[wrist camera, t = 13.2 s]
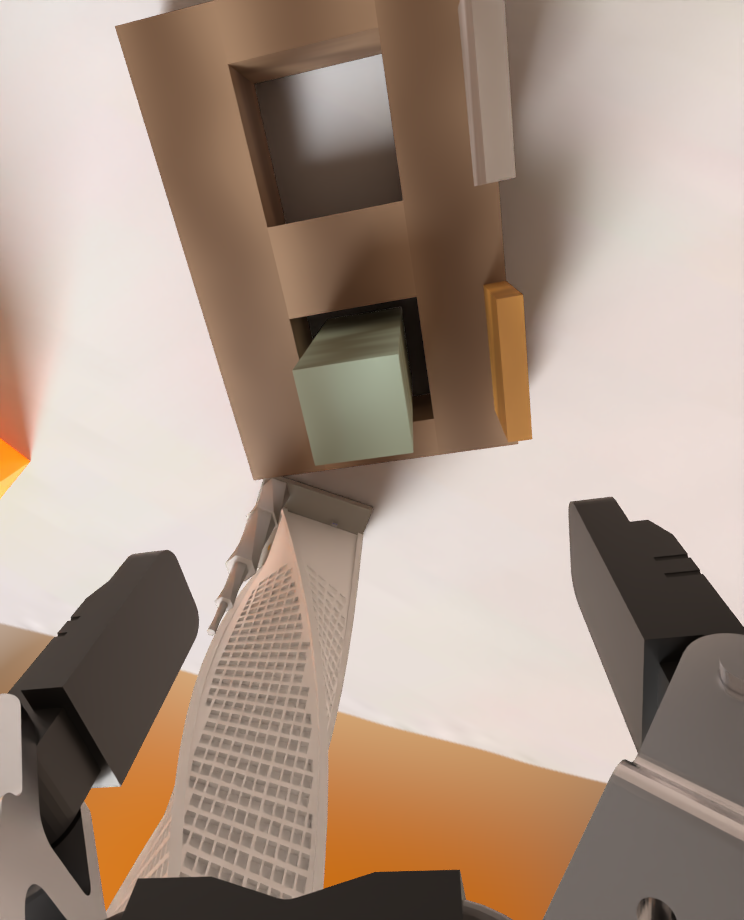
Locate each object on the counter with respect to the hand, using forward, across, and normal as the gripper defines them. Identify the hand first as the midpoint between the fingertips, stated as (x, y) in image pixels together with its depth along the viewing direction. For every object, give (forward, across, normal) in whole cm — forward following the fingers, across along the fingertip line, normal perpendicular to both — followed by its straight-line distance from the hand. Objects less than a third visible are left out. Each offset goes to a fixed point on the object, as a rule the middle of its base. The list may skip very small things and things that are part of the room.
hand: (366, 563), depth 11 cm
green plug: (+21, +2, 0) cm, 21 cm away
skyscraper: (+21, +8, +12) cm, 25 cm away
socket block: (+20, +2, -4) cm, 21 cm away
